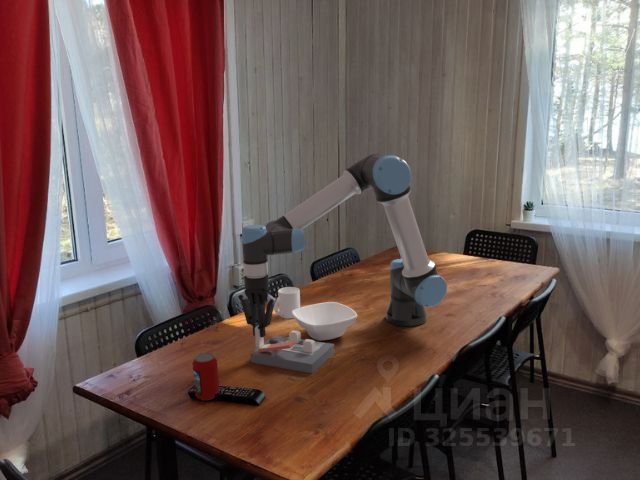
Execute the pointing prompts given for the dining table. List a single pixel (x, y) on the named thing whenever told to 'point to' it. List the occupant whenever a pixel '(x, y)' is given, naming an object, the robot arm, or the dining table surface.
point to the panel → (293, 355)
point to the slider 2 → (309, 345)
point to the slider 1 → (295, 336)
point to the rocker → (276, 346)
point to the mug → (287, 302)
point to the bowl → (325, 319)
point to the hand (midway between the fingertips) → (259, 345)
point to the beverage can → (205, 376)
